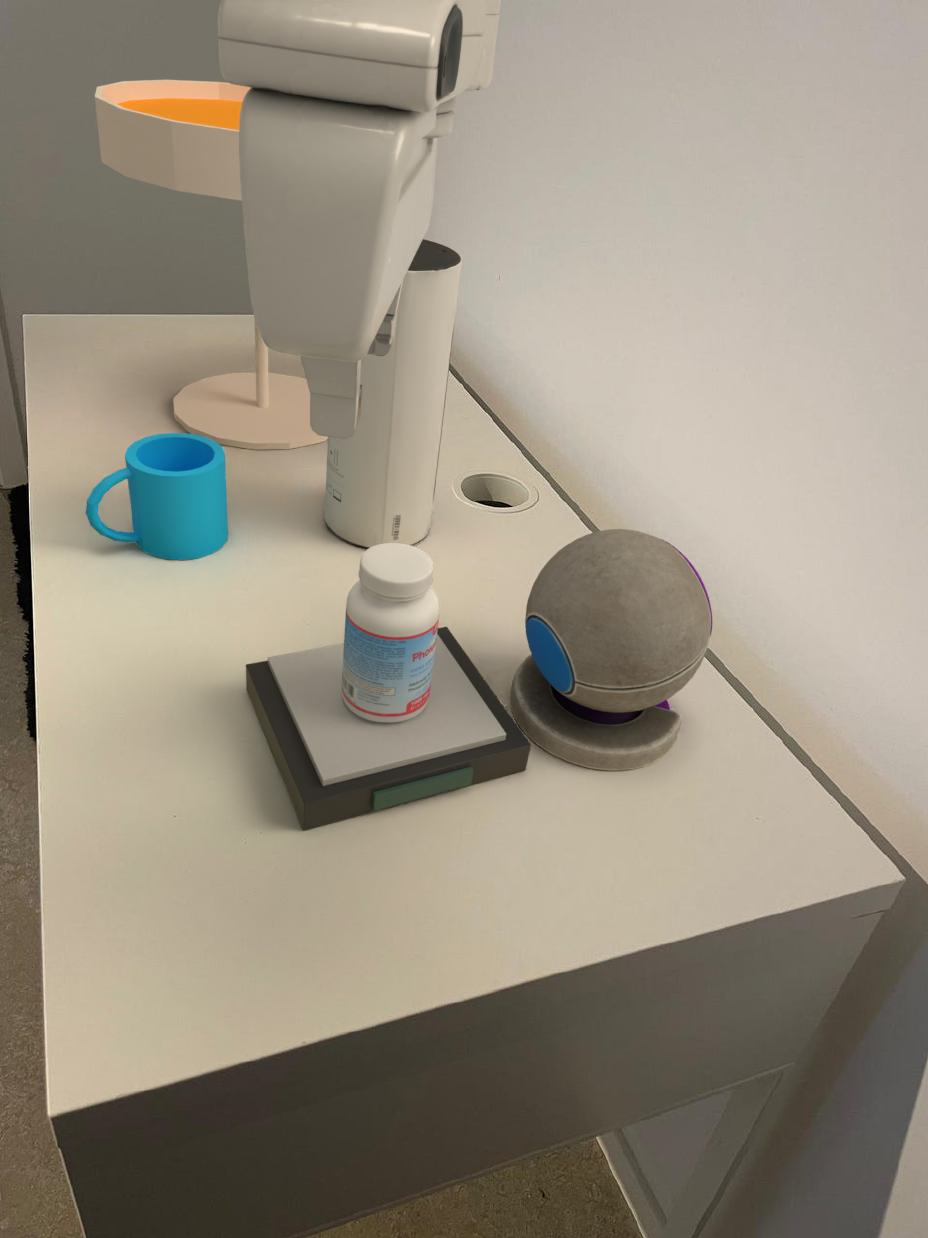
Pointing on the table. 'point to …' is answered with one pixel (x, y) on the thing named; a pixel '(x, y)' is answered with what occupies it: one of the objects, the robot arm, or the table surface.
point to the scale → (379, 735)
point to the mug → (171, 496)
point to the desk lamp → (208, 165)
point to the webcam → (610, 649)
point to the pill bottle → (390, 634)
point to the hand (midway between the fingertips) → (356, 386)
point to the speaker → (399, 415)
